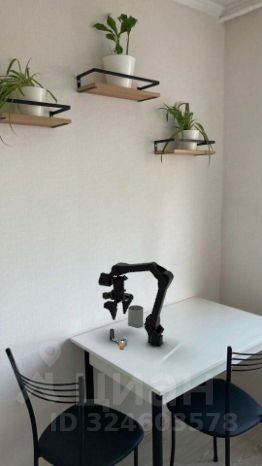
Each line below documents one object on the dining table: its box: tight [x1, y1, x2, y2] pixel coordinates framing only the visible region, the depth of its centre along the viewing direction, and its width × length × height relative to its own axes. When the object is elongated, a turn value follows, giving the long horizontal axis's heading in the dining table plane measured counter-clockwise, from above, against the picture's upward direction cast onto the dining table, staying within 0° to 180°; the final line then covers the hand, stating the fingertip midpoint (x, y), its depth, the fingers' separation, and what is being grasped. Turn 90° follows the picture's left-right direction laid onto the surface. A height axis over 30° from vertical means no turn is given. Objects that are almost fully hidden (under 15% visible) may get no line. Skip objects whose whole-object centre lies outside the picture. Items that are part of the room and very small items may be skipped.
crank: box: [109, 328, 128, 347], centre depth 194 cm, size 10×4×6 cm, turn 57°
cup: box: [127, 304, 144, 329], centre depth 219 cm, size 8×8×10 cm
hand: (119, 316), depth 200 cm, fingers open, 9 cm apart
